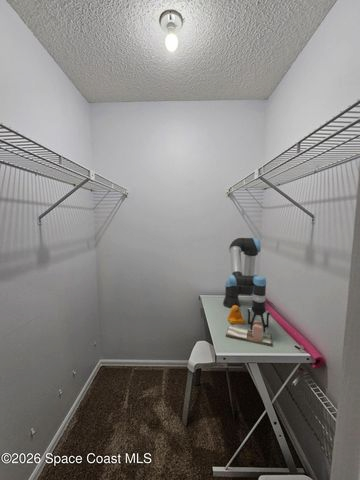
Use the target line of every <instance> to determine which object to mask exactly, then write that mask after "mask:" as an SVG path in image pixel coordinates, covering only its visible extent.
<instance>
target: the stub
mask: <svg viewBox="0 0 360 480" xmlns="http://www.w3.org/2000/svg"><path fill="white" fill-rule="evenodd" d="M253 324H254V330H253V339H257V340H262V326H263V324H262V320H261V321H259V320H256V319H254V322H253Z"/></svg>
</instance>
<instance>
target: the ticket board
mask: <svg viewBox="0 0 360 480" xmlns="http://www.w3.org/2000/svg"><path fill="white" fill-rule="evenodd" d="M225 337H226V338H229V339H232V340H233V339H234V340H238V341H239V340H240V341H243V342H248V343H252V344H257V345H263V346H266V347H273V346H274V345H273V335H272V334H270V333H266V332H265V333H264V332H263V338H262V340H257V339H253V336H252V330H251V329H247V328H246V329H245V328H241V327H234V326H228V327H227V329H226V333H225Z"/></svg>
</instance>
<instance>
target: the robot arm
mask: <svg viewBox="0 0 360 480" xmlns="http://www.w3.org/2000/svg"><path fill="white" fill-rule="evenodd" d="M261 247H262V246H261V241H260V239H259V238H257V237H237V238H235V239H233V241H232V242H231V243H230V245H229V248H228V251H229V254H230V264H231V266H230V269H231V274H229V275H228V279H227V280H226V281H225V286H224V287H225V289H224V291H225V293H224V294H225V296H224V297H223V298H224V299H223V301H222V302H223V303H222V305H223V306H224V307H226V308H229V309H231V308H232V306H233V305H237V306H238V307H239V308H241V302H240V299H239V295H241V296H249V297H250V296H252V307H250V308H249V307H247V314H248V315H247V324H248V325H249V326H250V331H252V336H253V330H254V320H256V317H257V316H259V317H260V319H261V322H262V338H263V333H266V328H267V329H268V328H269V325H270V323H269V321H270V320H269V318H270V317H269V316H270V315H271V312H270V310H266V292H267V291H266V289H267V279H266V277H265V276H263V275H258V274H255V267H256V257H257V256H258V254H259V253H261ZM241 253H243V255H244V265H243V266H242V255H241ZM252 312H253V315H252V318H251V313H252ZM264 314H265V315H266V323H265V318H264Z"/></svg>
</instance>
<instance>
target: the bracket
mask: <svg viewBox="0 0 360 480" xmlns="http://www.w3.org/2000/svg"><path fill="white" fill-rule="evenodd" d="M229 311H230V312H229V313H228V316H227V320H228V322H229V323H230V324H233V325H234V326H235V325H237V326H238V325H242V324H245V323H246V321H245V319H244V318H243V316H242V312H241V311H242V310H241V307H238V306H237V305H233V306H232V308H230V310H229Z"/></svg>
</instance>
